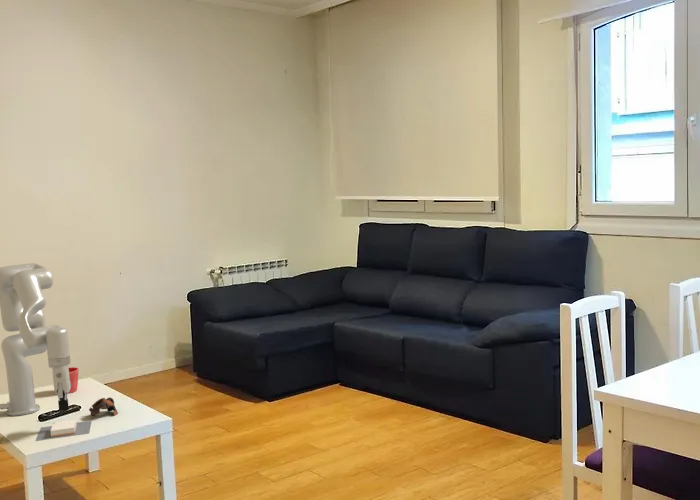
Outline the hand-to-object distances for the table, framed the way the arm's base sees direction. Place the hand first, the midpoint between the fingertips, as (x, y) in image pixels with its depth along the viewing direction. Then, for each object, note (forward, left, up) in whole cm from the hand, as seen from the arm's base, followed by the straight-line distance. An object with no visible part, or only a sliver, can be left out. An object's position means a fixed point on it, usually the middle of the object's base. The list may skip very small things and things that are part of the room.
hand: (63, 410), depth 274 cm
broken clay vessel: (+14, +11, -8) cm, 19 cm away
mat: (0, -3, -7) cm, 8 cm away
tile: (0, 0, -5) cm, 5 cm away
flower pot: (-4, +58, -8) cm, 58 cm away
